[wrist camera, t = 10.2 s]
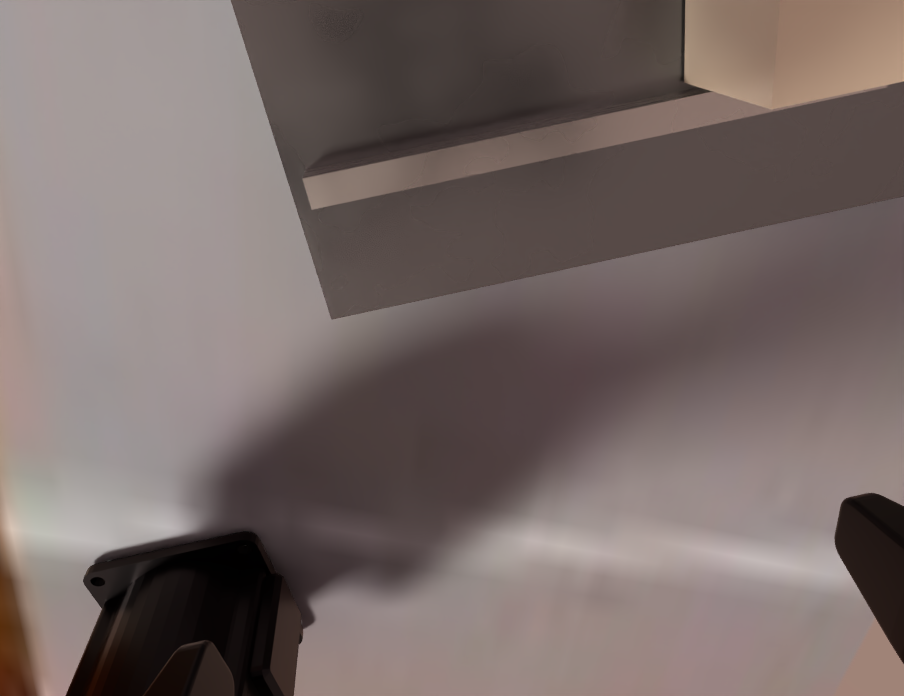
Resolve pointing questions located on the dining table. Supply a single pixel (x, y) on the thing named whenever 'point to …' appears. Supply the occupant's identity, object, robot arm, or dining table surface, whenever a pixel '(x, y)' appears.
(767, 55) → the cube with stick handle
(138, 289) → the dining table surface
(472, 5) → the bench gauge
